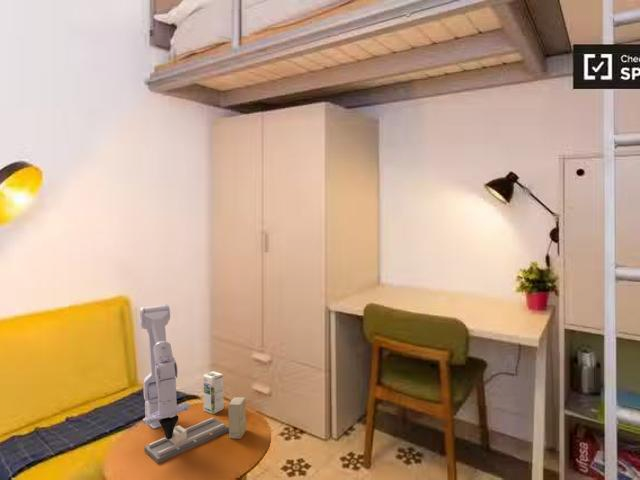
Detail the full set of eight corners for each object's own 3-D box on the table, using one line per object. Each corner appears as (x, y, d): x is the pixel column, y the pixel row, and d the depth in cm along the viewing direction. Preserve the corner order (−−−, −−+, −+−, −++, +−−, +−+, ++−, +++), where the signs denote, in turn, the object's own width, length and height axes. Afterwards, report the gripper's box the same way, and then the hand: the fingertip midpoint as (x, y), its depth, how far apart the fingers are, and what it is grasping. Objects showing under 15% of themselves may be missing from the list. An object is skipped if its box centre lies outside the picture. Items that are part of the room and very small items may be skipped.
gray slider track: (144, 451, 136) (144, 443, 136) (213, 421, 155) (213, 415, 154) (158, 463, 129) (157, 455, 129) (228, 431, 148) (228, 424, 148)
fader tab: (168, 439, 139) (168, 428, 139) (179, 435, 142) (179, 423, 142) (175, 445, 136) (175, 433, 135) (186, 440, 139) (186, 428, 138)
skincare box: (240, 439, 142) (240, 405, 141) (228, 438, 143) (227, 404, 142) (246, 429, 148) (245, 397, 148) (234, 429, 149) (233, 396, 148)
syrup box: (203, 410, 163) (202, 375, 162) (214, 405, 168) (213, 370, 167) (213, 414, 160) (211, 378, 159) (224, 408, 165) (223, 373, 164)
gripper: (150, 409, 128) (152, 451, 129) (193, 394, 138) (194, 433, 139) (141, 402, 133) (142, 443, 134) (183, 388, 143) (184, 426, 144)
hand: (168, 437), depth 137 cm, fingers closed
